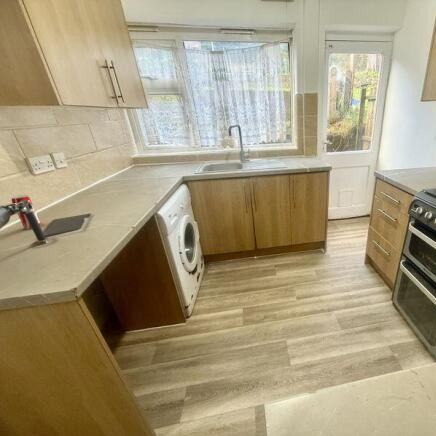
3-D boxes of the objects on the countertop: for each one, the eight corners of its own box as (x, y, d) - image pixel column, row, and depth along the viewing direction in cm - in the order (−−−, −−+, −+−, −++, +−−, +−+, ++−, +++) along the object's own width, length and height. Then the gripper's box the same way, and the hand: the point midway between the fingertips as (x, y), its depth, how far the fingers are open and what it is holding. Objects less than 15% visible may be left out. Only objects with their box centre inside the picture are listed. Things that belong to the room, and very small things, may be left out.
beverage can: (22, 228, 114) (4, 198, 107) (39, 222, 119) (23, 193, 113) (29, 230, 111) (11, 199, 105) (46, 224, 117) (30, 194, 110)
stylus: (38, 243, 98) (23, 214, 93) (40, 241, 100) (25, 212, 95) (46, 242, 99) (31, 212, 94) (47, 239, 101) (33, 210, 96)
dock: (29, 248, 96) (28, 247, 95) (35, 241, 101) (34, 240, 101) (52, 244, 99) (51, 243, 98) (57, 237, 104) (56, 236, 104)
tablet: (39, 239, 103) (38, 237, 102) (54, 221, 120) (53, 219, 120) (83, 230, 109) (83, 228, 109) (91, 214, 127) (90, 213, 127)
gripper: (12, 204, 72) (31, 190, 85) (-61, 214, 65) (-28, 198, 78) (24, 226, 75) (41, 210, 88) (-45, 238, 68) (-16, 219, 81)
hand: (8, 204), depth 83 cm, fingers open, 8 cm apart
